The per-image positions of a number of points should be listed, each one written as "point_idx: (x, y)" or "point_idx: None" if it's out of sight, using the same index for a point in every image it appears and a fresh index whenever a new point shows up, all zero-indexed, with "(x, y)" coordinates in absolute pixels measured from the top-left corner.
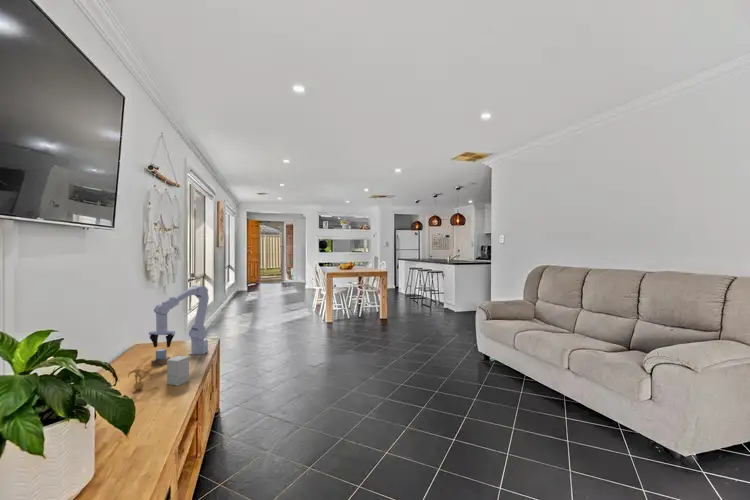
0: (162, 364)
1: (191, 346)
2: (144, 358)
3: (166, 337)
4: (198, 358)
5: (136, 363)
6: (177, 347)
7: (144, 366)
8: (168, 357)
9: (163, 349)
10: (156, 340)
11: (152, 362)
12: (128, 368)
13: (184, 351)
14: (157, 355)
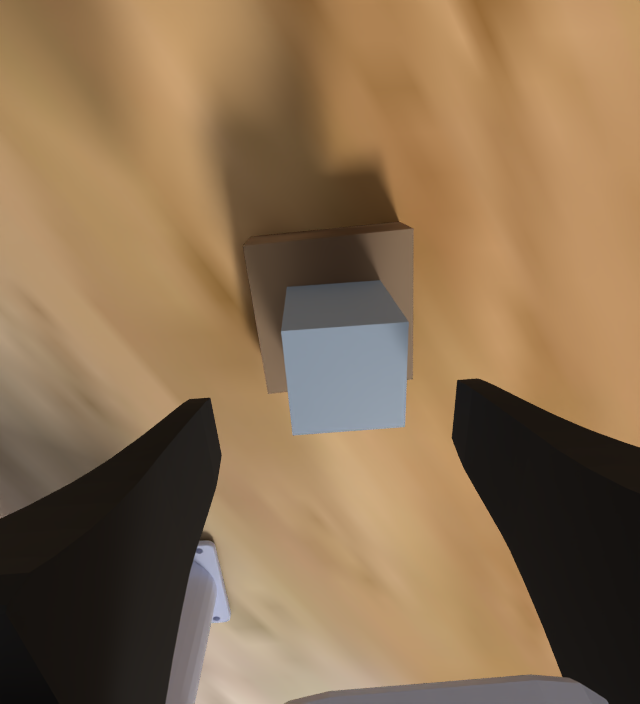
0: (263, 236)
1: (178, 630)
2: (586, 422)
3: (15, 559)
4: (22, 458)
5: (606, 270)
6: (432, 663)
7: (457, 163)
8: (264, 368)
9: (327, 414)
10: (522, 528)
11: (392, 227)
12: (632, 66)
13: (313, 600)
14: (363, 298)
